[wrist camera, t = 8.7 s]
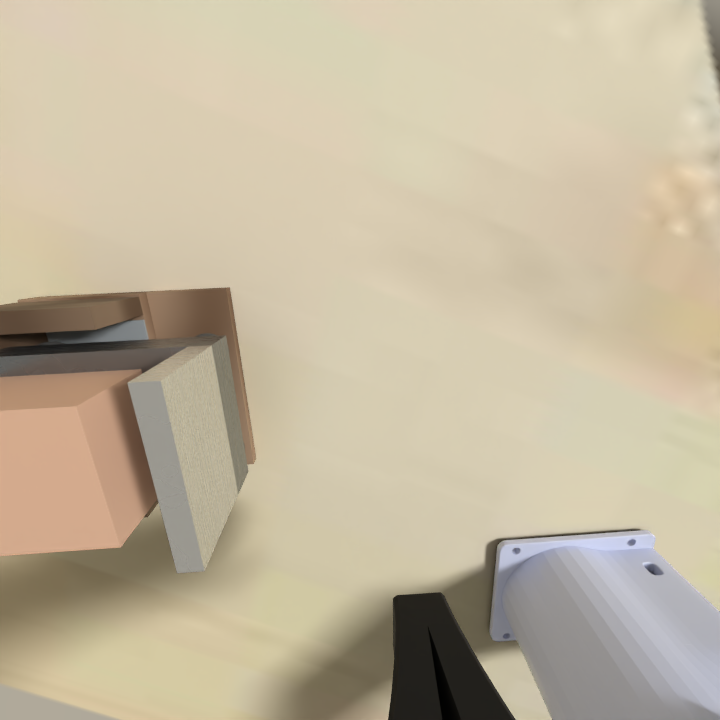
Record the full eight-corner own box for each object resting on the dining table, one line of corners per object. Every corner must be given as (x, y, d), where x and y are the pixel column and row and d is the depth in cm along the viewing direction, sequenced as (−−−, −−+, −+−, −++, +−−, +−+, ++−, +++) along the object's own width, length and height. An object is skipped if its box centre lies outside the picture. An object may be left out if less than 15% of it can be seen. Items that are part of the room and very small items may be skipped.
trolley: (236, 328, 14) (160, 380, 8) (255, 454, 16) (204, 571, 10) (38, 338, 14) (-183, 400, 8) (80, 465, 16) (-76, 591, 10)
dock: (229, 287, 16) (192, 298, 12) (256, 458, 19) (232, 513, 15) (39, 297, 16) (-63, 311, 12) (93, 468, 18) (26, 527, 14)
